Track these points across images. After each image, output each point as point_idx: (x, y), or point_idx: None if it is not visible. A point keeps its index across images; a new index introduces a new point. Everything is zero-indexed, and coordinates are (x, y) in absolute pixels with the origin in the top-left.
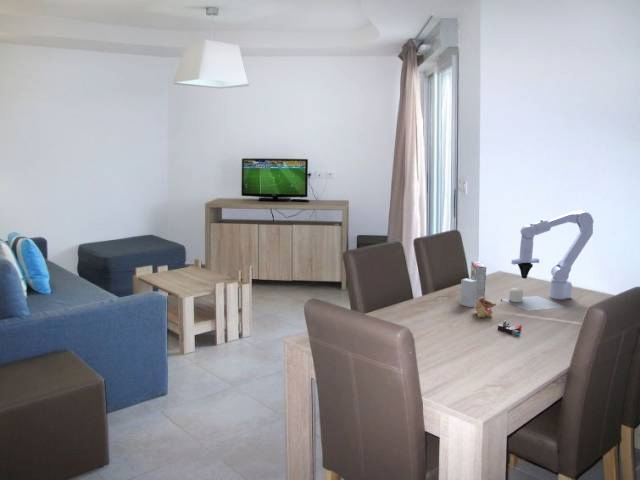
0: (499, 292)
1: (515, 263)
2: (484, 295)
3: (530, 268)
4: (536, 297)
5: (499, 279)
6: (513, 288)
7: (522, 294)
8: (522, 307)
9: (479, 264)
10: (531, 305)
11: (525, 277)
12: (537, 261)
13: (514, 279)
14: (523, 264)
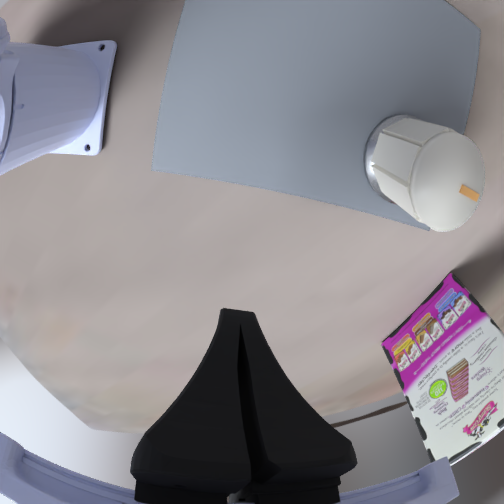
0: (280, 335)
1: (436, 473)
2: (462, 285)
3: (184, 407)
4: (196, 139)
5: (134, 413)
6: (441, 220)
7: (424, 129)
8: (465, 65)
9: (500, 430)
10: (401, 41)
11: (244, 316)
12: (8, 460)
13: (83, 393)
14: (312, 486)
